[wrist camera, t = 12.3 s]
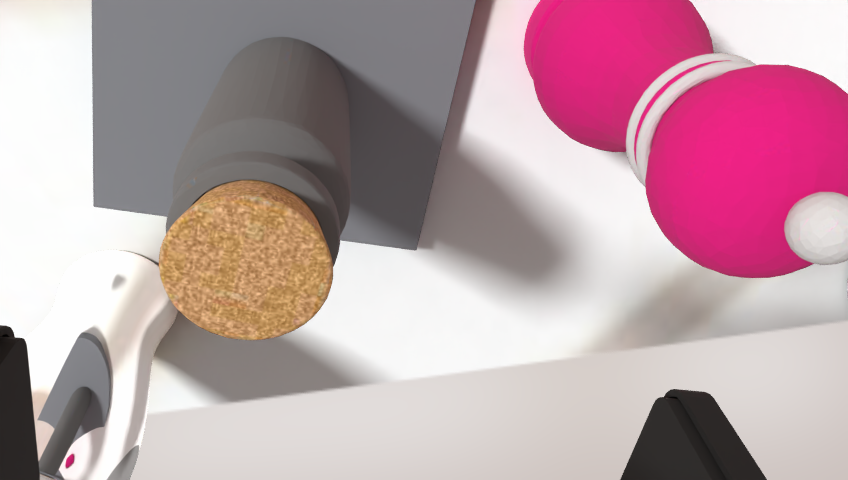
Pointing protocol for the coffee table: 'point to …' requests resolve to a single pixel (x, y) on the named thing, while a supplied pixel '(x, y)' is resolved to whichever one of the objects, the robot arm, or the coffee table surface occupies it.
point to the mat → (250, 22)
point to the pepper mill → (701, 131)
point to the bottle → (261, 194)
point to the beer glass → (97, 366)
